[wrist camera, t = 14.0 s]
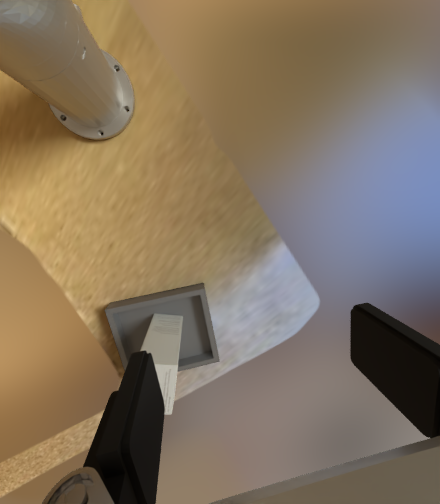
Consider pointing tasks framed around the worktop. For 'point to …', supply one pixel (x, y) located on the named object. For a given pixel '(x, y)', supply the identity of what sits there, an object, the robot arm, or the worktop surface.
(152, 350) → the skincare box
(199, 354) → the tray
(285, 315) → the worktop surface
